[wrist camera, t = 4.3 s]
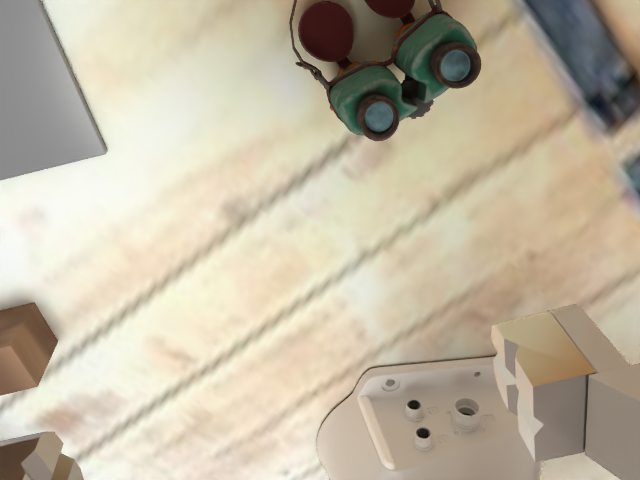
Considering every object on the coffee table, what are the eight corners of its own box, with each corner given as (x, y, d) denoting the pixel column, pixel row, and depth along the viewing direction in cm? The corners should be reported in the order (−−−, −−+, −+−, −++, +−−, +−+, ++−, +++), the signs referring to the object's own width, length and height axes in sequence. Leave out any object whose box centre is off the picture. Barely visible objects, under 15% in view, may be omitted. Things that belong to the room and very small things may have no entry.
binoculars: (421, -121, 23) (523, 83, 27) (382, -93, 33) (462, 54, 36) (247, 11, 25) (366, 185, 29) (258, 1, 35) (346, 132, 38)
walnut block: (34, 302, 43) (10, 345, 38) (58, 341, 45) (37, 386, 41) (-17, 314, 43) (-46, 359, 39) (10, 352, 45) (-16, 399, 41)
